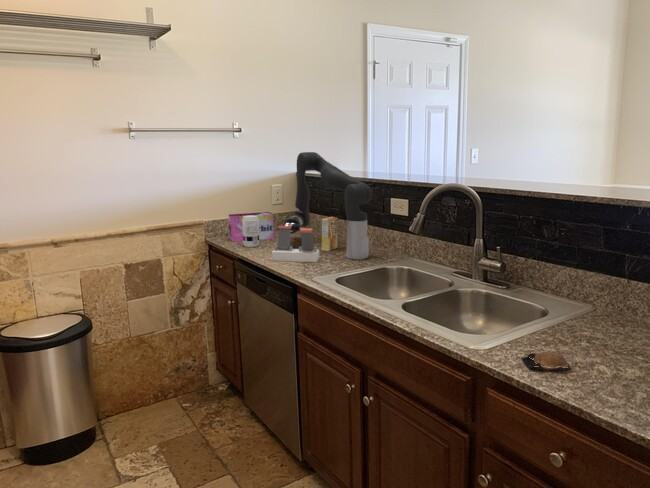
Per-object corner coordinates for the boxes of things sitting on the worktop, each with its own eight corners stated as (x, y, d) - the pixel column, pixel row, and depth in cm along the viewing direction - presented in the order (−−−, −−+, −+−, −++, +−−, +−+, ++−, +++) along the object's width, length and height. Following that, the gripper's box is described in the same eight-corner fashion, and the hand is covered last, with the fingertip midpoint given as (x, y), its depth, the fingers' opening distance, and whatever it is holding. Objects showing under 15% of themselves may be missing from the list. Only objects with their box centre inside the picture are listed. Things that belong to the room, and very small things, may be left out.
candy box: (330, 247, 247) (330, 216, 244) (337, 247, 245) (337, 217, 242) (321, 250, 239) (321, 219, 236) (328, 251, 237) (328, 219, 234)
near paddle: (314, 249, 220) (312, 228, 215) (313, 251, 219) (311, 230, 213) (302, 249, 221) (300, 228, 215) (301, 251, 220) (300, 230, 214)
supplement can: (239, 246, 248) (238, 216, 245) (249, 243, 255) (248, 214, 252) (253, 248, 245) (252, 218, 241) (262, 245, 252) (261, 215, 249)
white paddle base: (319, 258, 223) (319, 245, 222) (316, 262, 217) (316, 249, 215) (275, 257, 226) (275, 244, 225) (272, 260, 219) (271, 247, 218)
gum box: (230, 242, 259) (229, 216, 256) (227, 239, 266) (225, 214, 263) (274, 238, 268) (273, 213, 265) (269, 236, 275) (269, 211, 272)
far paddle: (289, 250, 222) (290, 226, 223) (288, 249, 220) (290, 225, 221) (278, 250, 222) (279, 226, 224) (277, 249, 221) (278, 225, 222)
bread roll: (561, 360, 123) (562, 346, 122) (577, 375, 115) (579, 360, 114) (517, 359, 123) (519, 345, 122) (531, 375, 115) (532, 360, 114)
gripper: (280, 216, 246) (271, 222, 230) (306, 217, 245) (299, 223, 228) (280, 231, 248) (272, 238, 231) (306, 232, 246) (300, 239, 229)
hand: (285, 230), depth 230 cm, fingers closed
